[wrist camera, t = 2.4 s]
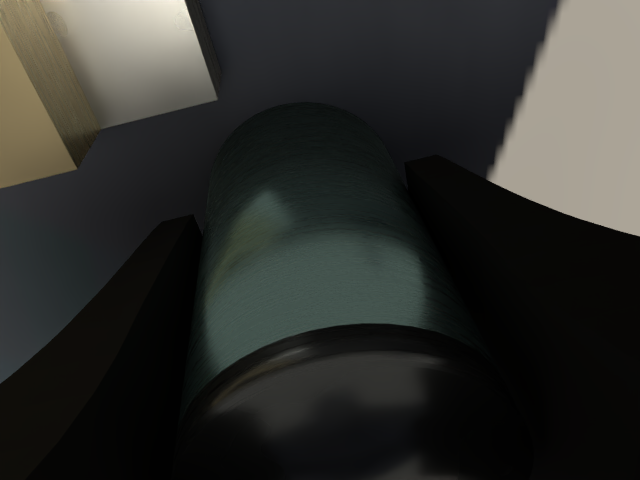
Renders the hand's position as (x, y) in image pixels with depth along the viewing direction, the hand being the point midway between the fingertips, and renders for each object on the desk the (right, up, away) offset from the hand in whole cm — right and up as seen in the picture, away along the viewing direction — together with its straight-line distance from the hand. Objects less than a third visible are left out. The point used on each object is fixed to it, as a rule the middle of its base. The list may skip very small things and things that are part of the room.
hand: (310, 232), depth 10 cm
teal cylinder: (0, +1, +1) cm, 2 cm away
